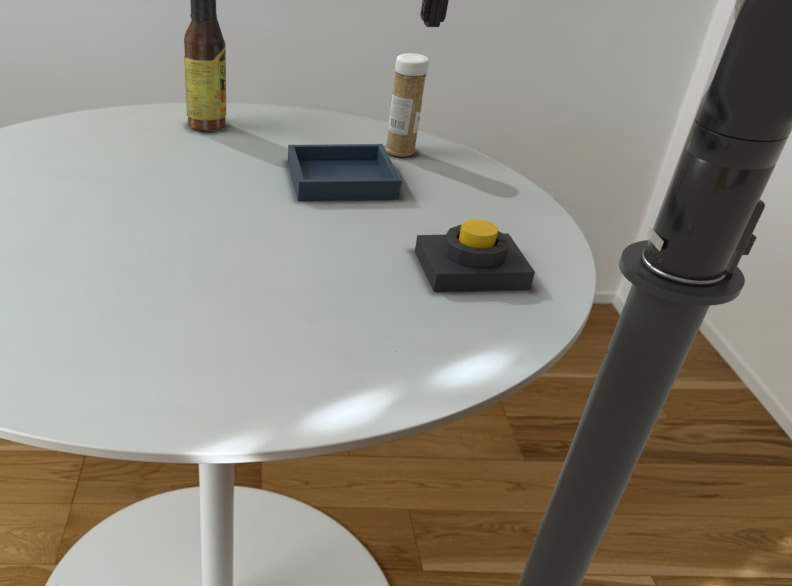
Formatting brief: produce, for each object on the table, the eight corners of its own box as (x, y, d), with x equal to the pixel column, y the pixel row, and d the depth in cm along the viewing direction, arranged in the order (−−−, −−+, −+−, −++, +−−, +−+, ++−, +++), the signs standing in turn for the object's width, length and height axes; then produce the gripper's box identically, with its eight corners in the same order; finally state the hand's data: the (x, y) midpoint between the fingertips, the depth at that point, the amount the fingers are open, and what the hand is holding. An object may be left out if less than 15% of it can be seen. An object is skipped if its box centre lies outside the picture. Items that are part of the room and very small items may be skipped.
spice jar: (421, 154, 116) (436, 59, 108) (397, 160, 114) (411, 63, 106) (401, 143, 119) (415, 50, 110) (377, 149, 117) (389, 54, 109)
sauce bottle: (230, 131, 122) (230, -10, 109) (190, 134, 120) (185, -9, 108) (221, 117, 126) (220, -21, 114) (183, 119, 125) (178, -19, 113)
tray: (380, 161, 114) (382, 143, 112) (399, 199, 104) (401, 180, 103) (287, 162, 113) (288, 144, 111) (297, 200, 103) (298, 182, 102)
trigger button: (488, 232, 90) (491, 218, 88) (499, 249, 87) (503, 235, 85) (454, 233, 89) (457, 219, 88) (464, 250, 86) (467, 236, 85)
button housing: (504, 249, 94) (512, 219, 91) (530, 289, 87) (539, 257, 85) (414, 251, 93) (419, 220, 91) (433, 291, 86) (439, 259, 84)
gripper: (409, -142, 82) (386, 34, 94) (530, -139, 84) (492, 34, 95) (393, -150, 88) (372, 17, 99) (506, -147, 89) (473, 18, 101)
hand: (431, 25), depth 97 cm, fingers closed
